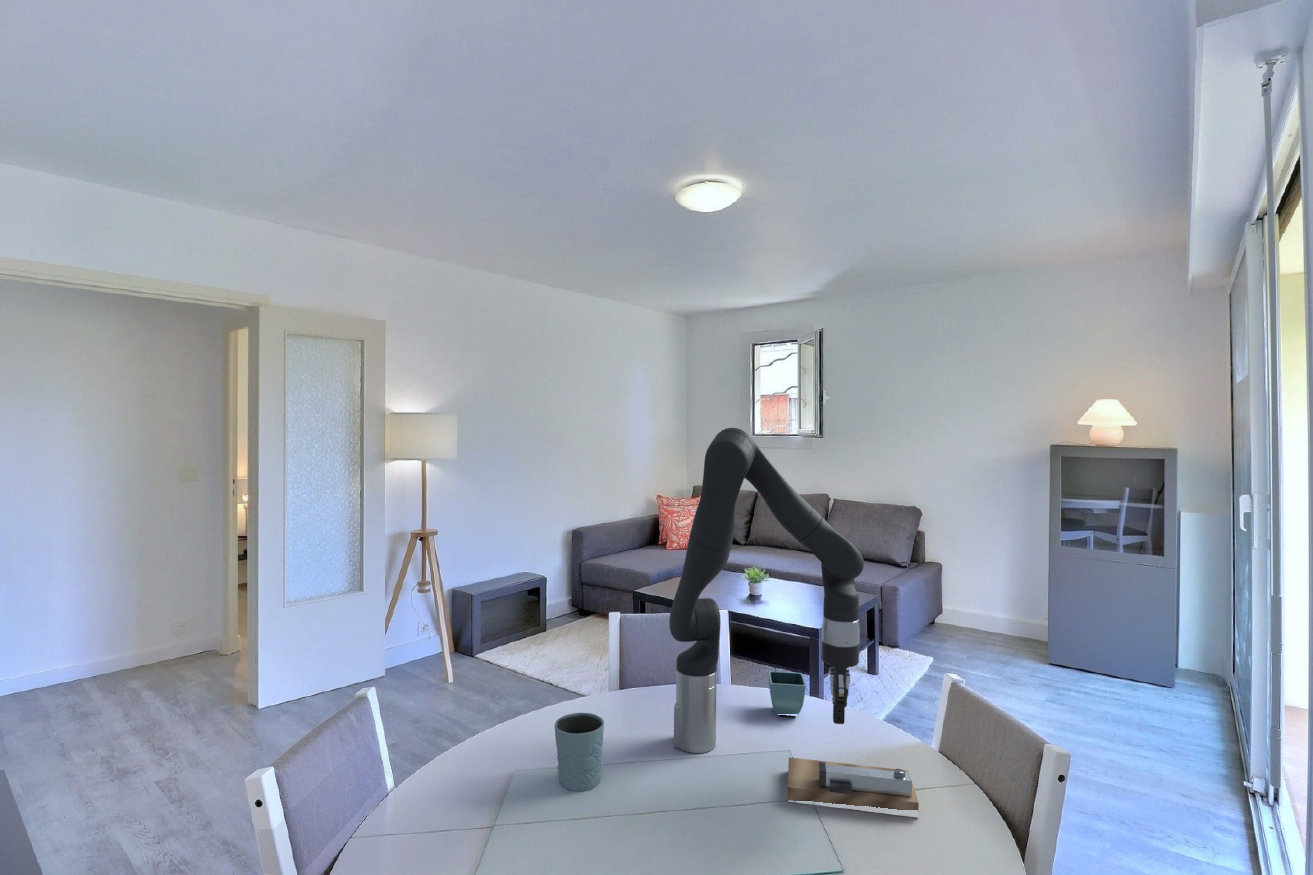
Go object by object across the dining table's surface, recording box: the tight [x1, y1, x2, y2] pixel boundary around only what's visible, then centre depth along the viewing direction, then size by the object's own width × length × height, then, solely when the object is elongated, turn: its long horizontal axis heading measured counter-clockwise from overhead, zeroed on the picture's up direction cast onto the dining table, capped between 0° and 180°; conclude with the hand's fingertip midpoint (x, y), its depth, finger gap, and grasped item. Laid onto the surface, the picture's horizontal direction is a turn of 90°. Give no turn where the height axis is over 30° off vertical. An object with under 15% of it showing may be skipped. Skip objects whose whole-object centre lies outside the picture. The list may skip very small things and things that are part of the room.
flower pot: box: [768, 670, 807, 715], centre depth 171 cm, size 9×9×9 cm
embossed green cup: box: [554, 712, 605, 793], centre depth 138 cm, size 10×10×12 cm
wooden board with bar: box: [787, 757, 920, 811], centre depth 134 cm, size 24×12×4 cm, turn 78°
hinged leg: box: [819, 762, 913, 797], centre depth 130 cm, size 17×3×4 cm, turn 79°
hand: (838, 722), depth 139 cm, fingers closed
